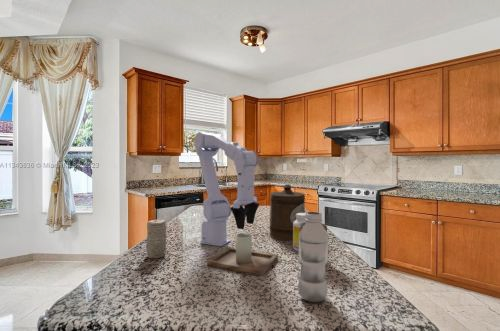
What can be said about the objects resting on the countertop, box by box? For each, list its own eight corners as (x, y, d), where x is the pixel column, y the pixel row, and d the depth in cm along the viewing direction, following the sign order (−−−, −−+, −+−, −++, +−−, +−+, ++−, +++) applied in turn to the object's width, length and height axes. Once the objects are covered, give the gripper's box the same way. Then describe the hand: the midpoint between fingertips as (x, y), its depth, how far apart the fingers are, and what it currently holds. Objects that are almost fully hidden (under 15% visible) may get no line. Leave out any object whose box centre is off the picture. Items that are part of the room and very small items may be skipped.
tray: (207, 265, 80) (207, 260, 80) (229, 251, 93) (229, 247, 93) (262, 276, 73) (262, 271, 73) (277, 259, 86) (277, 254, 86)
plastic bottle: (294, 292, 64) (295, 210, 64) (321, 291, 65) (322, 210, 65) (302, 307, 58) (303, 216, 58) (332, 305, 59) (333, 215, 58)
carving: (145, 261, 84) (145, 223, 84) (147, 253, 91) (147, 218, 91) (166, 259, 86) (165, 222, 86) (166, 251, 93) (166, 217, 93)
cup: (233, 262, 82) (232, 236, 82) (240, 256, 86) (239, 232, 86) (247, 264, 80) (247, 238, 80) (254, 259, 84) (253, 234, 84)
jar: (333, 265, 81) (333, 226, 81) (312, 270, 77) (312, 229, 77) (314, 256, 89) (314, 220, 89) (294, 260, 85) (294, 223, 85)
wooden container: (301, 242, 104) (302, 186, 104) (265, 238, 109) (265, 185, 109) (306, 232, 118) (307, 183, 117) (274, 229, 123) (274, 182, 123)
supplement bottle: (311, 253, 92) (312, 216, 91) (292, 251, 93) (292, 215, 93) (311, 247, 98) (311, 212, 98) (293, 245, 100) (293, 212, 99)
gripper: (247, 188, 81) (247, 232, 82) (264, 184, 95) (264, 222, 95) (227, 187, 84) (227, 229, 85) (246, 184, 98) (246, 220, 98)
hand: (245, 225), depth 90 cm, fingers open, 7 cm apart
